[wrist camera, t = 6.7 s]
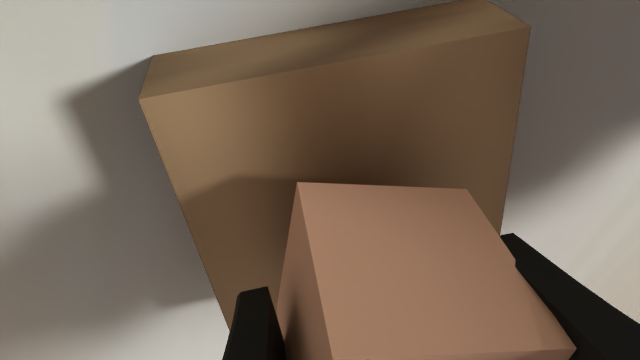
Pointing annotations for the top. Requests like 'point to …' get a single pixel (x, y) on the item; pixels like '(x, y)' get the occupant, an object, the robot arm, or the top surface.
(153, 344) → the top surface
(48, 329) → the top surface
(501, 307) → the terracotta block
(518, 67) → the walnut slab
